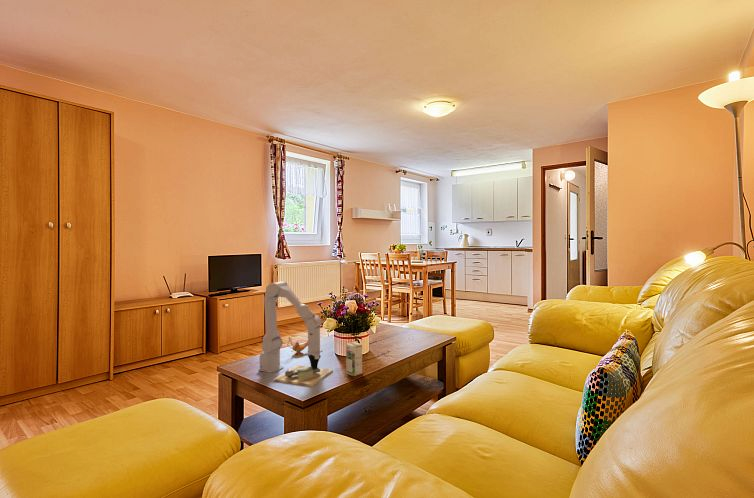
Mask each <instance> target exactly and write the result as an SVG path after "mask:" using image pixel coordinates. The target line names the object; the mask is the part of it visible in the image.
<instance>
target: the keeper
mask: <svg viewBox="0 0 754 498" xmlns="http://www.w3.org/2000/svg"><path fill="white" fill-rule="evenodd" d="M297 371H298V379H306V378H313V369H312V367H311V366H307V367H304V368H297Z"/></svg>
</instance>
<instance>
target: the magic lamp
mask: <svg viewBox="0 0 754 498" xmlns="http://www.w3.org/2000/svg"><path fill="white" fill-rule="evenodd" d="M289 342H290V344H291V346H289ZM286 345H287V347H288V348H290V349H292V350H291V353H292V352H295V353H294V354H293V355H294V356H297V357H298V356H302V355H304V353H303V352H302V351H304V350H305V349H306V348H308V340H307V341H306V342H304V343H301V344H300V343H299V342H298V341H296V342H295V344H293V341H292V337H289V336H288V342H287V344H286Z"/></svg>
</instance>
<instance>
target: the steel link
mask: <svg viewBox="0 0 754 498" xmlns="http://www.w3.org/2000/svg"><path fill="white" fill-rule="evenodd" d="M320 368H321V367H319V366H317V367H314V368H312V369H313V373H317V372H320ZM291 369H292V368H290V369H289V368H288V369H287V370H285V371H284V373H285V376H287V377H291V376H295V375H298V371H297V370H291Z"/></svg>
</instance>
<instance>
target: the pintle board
mask: <svg viewBox="0 0 754 498" xmlns="http://www.w3.org/2000/svg"><path fill="white" fill-rule="evenodd" d="M304 367H308V366H306V365H295V366H294V367H292V368H290V369H291V370H297V368H304ZM319 368H320V372H317V373H313V378H306V379H298V375H295V376H291V377H287V376H285V372H283V373H281V374H280V375H278V376H276V377H274V378H273V379H272V380H273V382H277V383H284V384H290V385H292V384H293V385H297V386H298V385H299V386H303V387H304V386H305V387H314V386H315V385H316V384H317V383H319V382H320V381H322V380H323V379H324V378H326V377H327V376H329V375H331V373H333V371H334V370H333V369H331V368H330V369H329V368H321V367H319Z"/></svg>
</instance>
